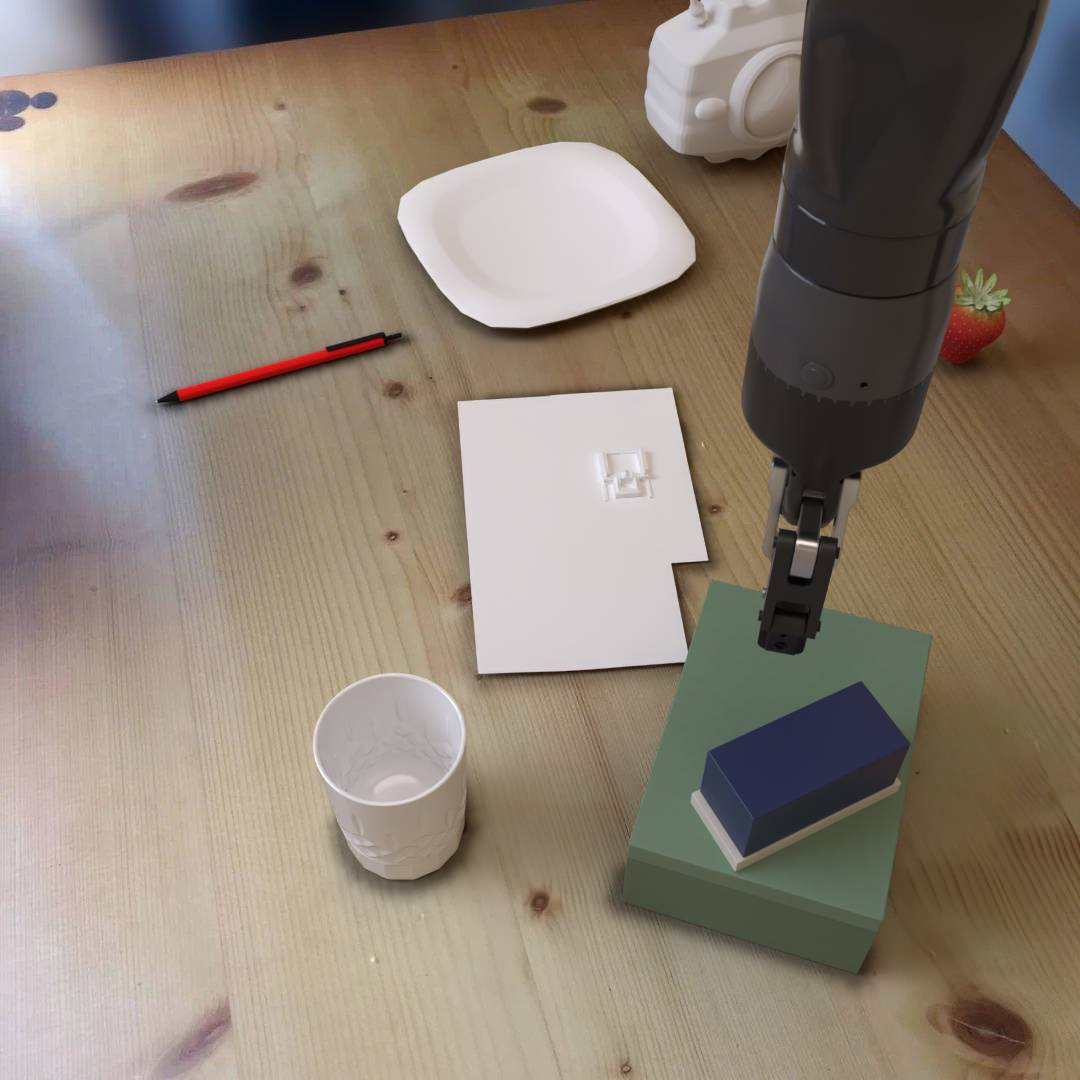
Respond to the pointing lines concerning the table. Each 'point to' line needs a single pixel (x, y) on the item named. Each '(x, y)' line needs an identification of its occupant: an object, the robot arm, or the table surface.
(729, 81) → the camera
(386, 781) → the white cup
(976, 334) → the fruit
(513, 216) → the plate
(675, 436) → the paper
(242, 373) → the pen
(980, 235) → the table surface
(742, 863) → the navy block
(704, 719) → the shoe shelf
